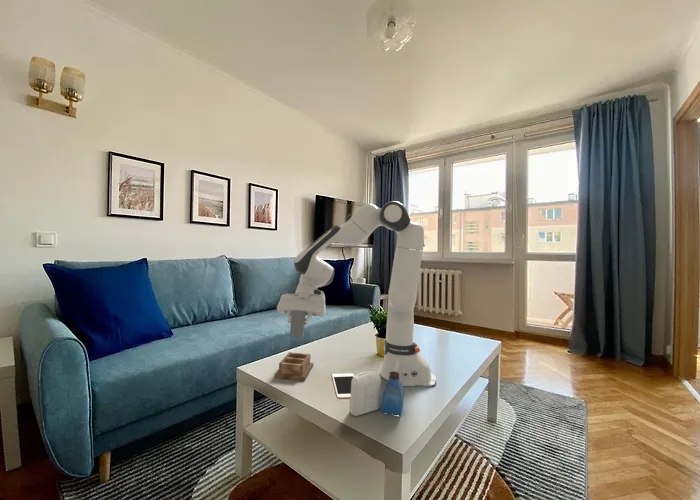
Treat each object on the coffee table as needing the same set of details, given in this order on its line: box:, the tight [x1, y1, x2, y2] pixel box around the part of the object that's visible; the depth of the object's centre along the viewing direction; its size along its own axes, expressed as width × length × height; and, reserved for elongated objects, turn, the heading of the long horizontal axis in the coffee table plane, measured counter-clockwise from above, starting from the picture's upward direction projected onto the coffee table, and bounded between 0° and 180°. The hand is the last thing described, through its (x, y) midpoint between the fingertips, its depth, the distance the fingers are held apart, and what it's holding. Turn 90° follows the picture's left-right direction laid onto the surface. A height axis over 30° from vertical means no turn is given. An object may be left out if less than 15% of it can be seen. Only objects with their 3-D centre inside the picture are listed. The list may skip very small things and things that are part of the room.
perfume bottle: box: [380, 371, 405, 417], centre depth 94 cm, size 6×6×12 cm
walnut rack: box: [274, 351, 314, 382], centre depth 118 cm, size 12×14×6 cm
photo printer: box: [349, 370, 382, 417], centre depth 93 cm, size 10×4×12 cm, turn 123°
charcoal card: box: [289, 310, 306, 338], centre depth 116 cm, size 5×2×10 cm, turn 83°
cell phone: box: [331, 373, 355, 400], centre depth 109 cm, size 9×18×1 cm, turn 10°
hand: (297, 323), depth 116 cm, fingers closed on charcoal card, 5 cm apart
